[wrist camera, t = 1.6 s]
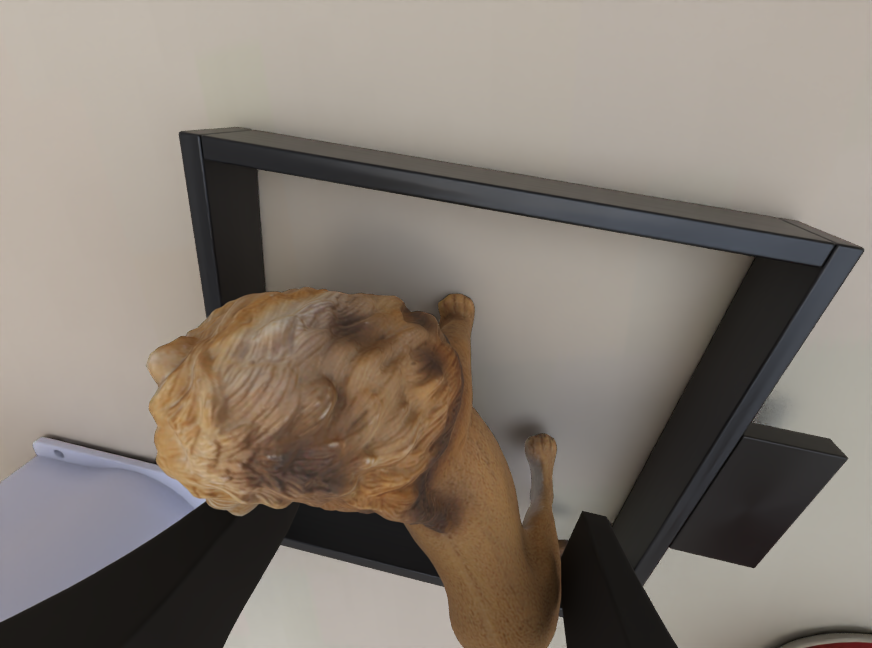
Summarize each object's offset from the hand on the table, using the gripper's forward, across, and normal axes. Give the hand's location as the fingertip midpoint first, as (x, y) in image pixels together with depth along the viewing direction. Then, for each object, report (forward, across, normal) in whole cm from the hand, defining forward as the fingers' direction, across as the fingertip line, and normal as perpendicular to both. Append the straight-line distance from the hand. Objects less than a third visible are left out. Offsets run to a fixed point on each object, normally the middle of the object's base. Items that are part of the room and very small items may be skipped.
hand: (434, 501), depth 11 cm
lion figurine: (+5, 0, 0) cm, 5 cm away
